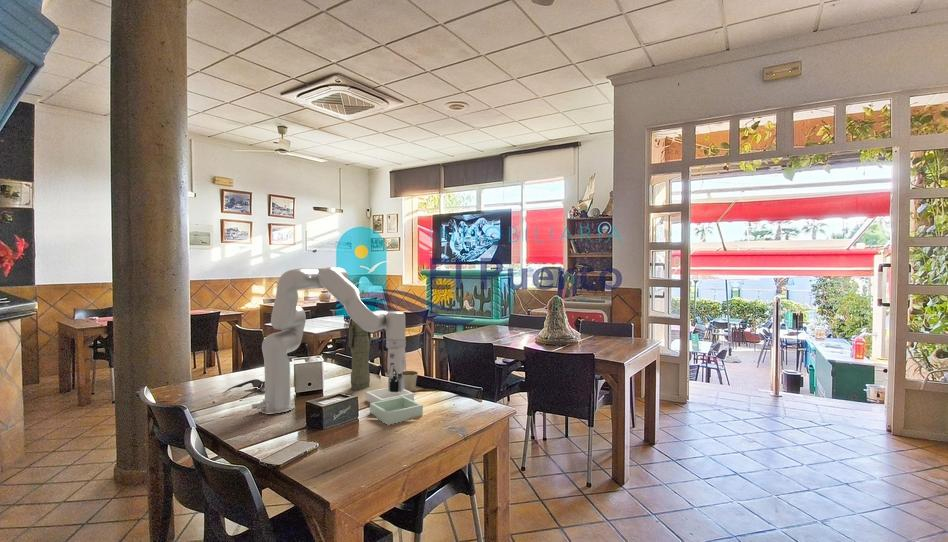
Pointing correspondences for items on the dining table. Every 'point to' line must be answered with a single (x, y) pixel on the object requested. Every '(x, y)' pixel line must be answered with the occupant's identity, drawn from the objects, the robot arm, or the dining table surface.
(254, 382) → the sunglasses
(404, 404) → the bin
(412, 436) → the dining table surface
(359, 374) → the olive green tall block
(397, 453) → the dining table surface
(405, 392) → the bin
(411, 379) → the flower pot
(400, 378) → the gray cube
